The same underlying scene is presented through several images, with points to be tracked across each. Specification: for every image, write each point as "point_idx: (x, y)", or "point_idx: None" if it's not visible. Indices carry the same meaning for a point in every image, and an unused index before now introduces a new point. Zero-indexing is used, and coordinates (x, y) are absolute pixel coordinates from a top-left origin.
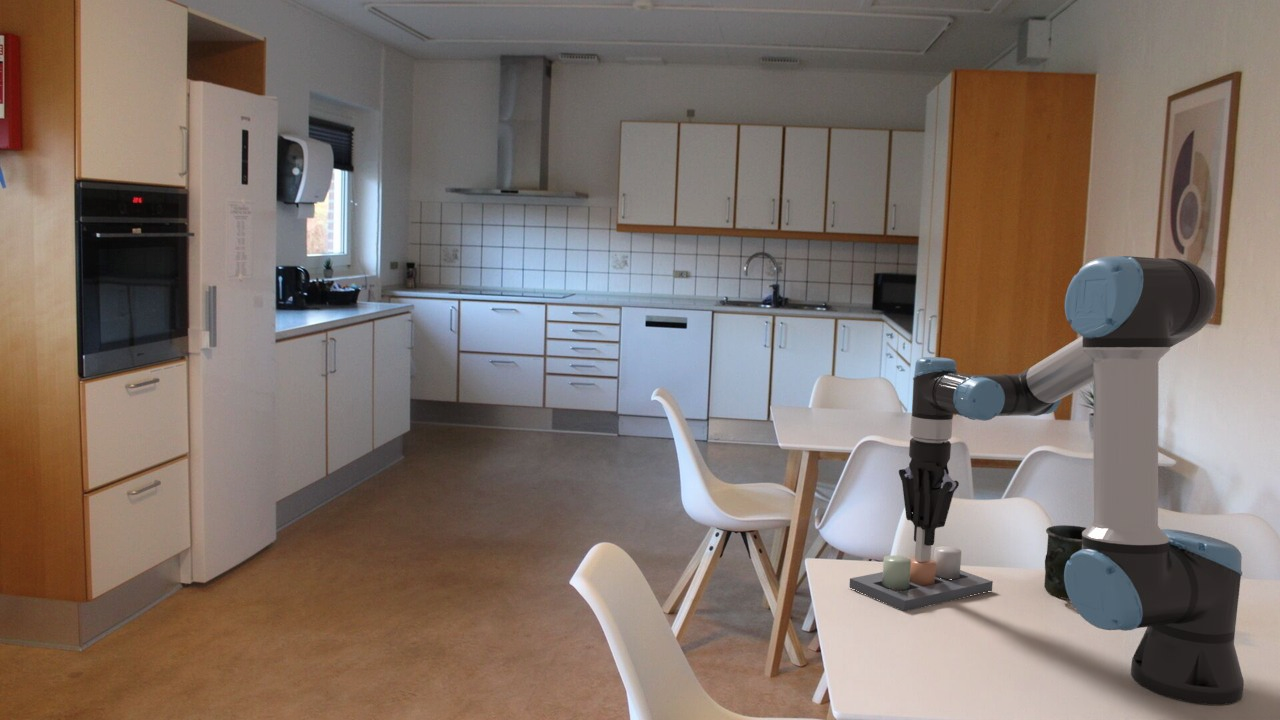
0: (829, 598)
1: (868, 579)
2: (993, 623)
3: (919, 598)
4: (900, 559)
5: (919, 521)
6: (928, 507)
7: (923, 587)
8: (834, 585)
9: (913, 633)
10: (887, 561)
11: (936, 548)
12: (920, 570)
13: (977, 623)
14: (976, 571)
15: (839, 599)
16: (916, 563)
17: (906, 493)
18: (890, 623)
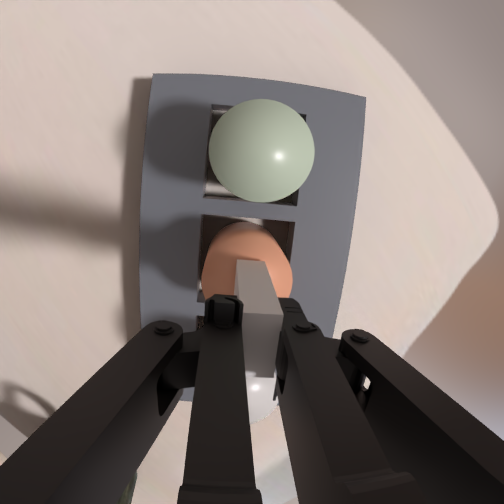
0: (328, 12)
1: (333, 130)
2: (19, 211)
3: (146, 129)
4: (254, 160)
5: (285, 344)
6: (206, 399)
7: (196, 211)
8: (389, 95)
9: (75, 14)
10: (268, 99)
11: (268, 381)
12: (224, 239)
13: (31, 179)
14: (257, 446)
15: (311, 22)
16: (243, 243)
17: (451, 423)
18: (134, 6)
